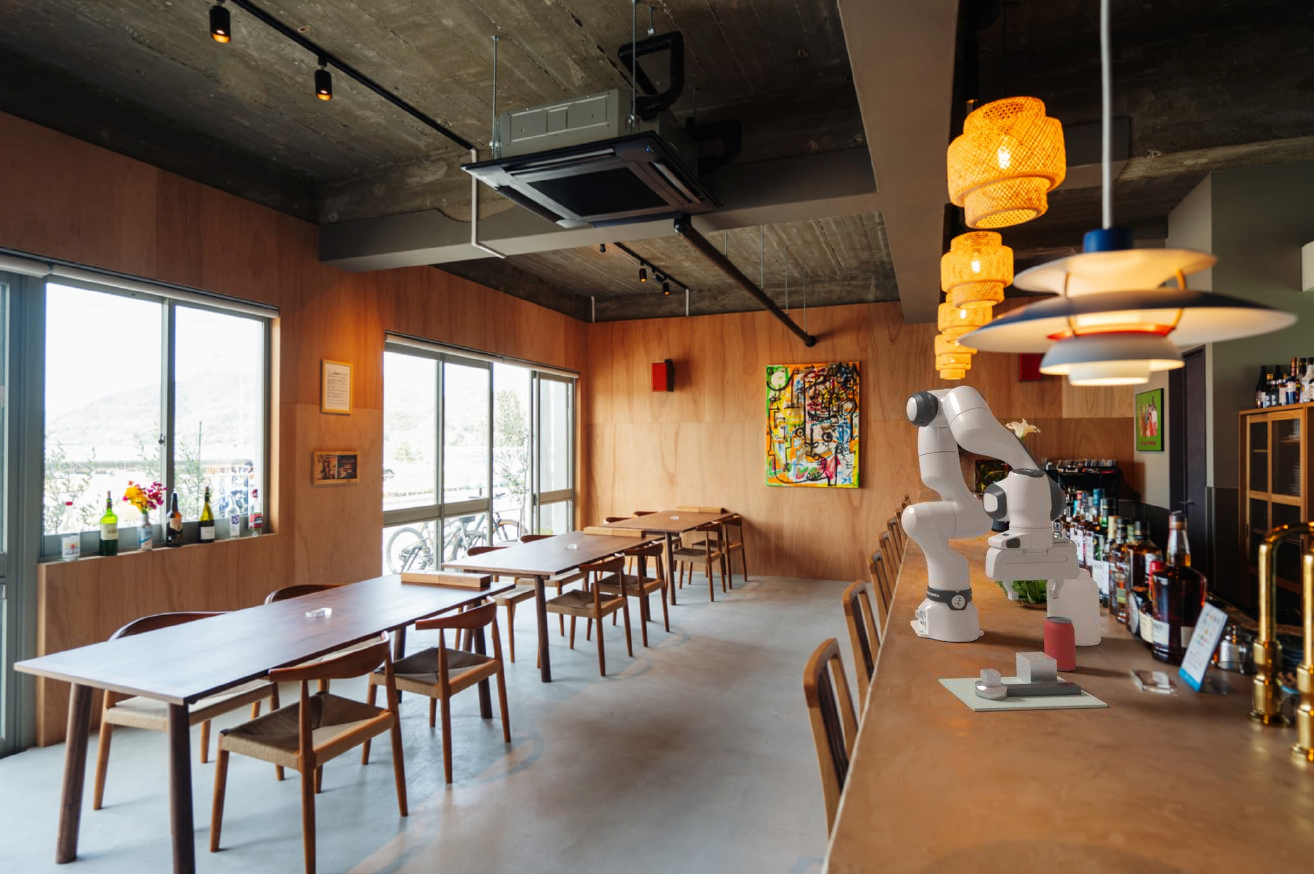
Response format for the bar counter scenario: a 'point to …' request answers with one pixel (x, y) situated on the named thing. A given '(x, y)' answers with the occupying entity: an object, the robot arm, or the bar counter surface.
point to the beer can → (1060, 642)
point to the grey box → (1036, 667)
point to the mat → (966, 693)
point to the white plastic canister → (1078, 607)
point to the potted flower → (1029, 592)
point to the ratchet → (1019, 687)
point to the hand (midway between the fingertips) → (1033, 599)
